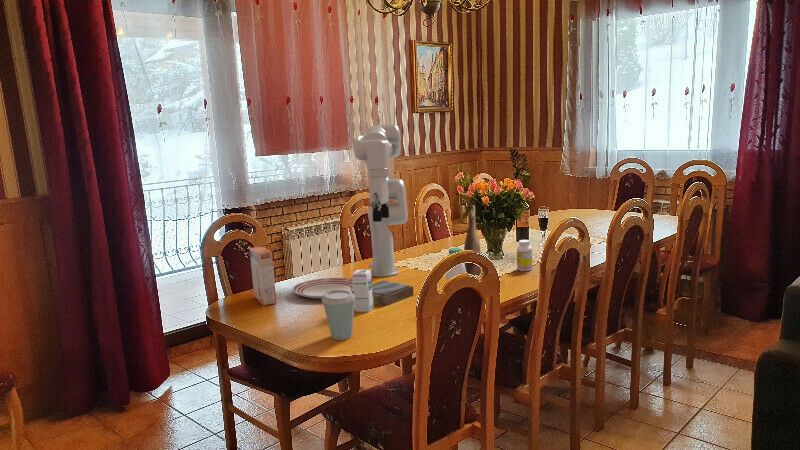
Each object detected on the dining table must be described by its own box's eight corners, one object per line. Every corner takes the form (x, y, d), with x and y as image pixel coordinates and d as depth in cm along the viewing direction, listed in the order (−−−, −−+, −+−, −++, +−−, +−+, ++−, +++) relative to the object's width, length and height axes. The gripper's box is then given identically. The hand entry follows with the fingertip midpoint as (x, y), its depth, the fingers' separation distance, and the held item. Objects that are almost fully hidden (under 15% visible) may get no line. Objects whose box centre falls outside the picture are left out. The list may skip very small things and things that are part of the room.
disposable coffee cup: (363, 332, 194) (360, 288, 192) (348, 344, 185) (344, 298, 182) (335, 329, 199) (332, 286, 196) (318, 341, 189) (314, 296, 186)
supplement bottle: (516, 267, 264) (515, 239, 262) (531, 267, 264) (530, 238, 262) (518, 271, 258) (517, 242, 255) (533, 271, 257) (533, 242, 255)
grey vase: (456, 283, 246) (453, 207, 239) (463, 275, 257) (460, 202, 250) (483, 285, 242) (480, 208, 235) (488, 276, 253) (486, 202, 246)
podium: (355, 299, 232) (355, 289, 231) (384, 289, 243) (383, 279, 242) (385, 306, 221) (384, 295, 220) (413, 295, 232) (413, 285, 232)
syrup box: (370, 312, 215) (367, 273, 212) (354, 311, 216) (351, 273, 214) (374, 307, 221) (371, 269, 218) (358, 306, 222) (356, 269, 219)
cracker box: (277, 303, 232) (272, 251, 228) (262, 306, 229) (257, 253, 225) (268, 295, 244) (263, 245, 240) (253, 297, 241) (248, 247, 238)
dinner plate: (339, 280, 262) (338, 272, 261) (373, 292, 240) (373, 284, 239) (281, 293, 246) (281, 285, 245) (313, 308, 224) (312, 299, 224)
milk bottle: (446, 304, 219) (443, 251, 215) (447, 298, 226) (445, 246, 223) (467, 304, 217) (465, 251, 214) (467, 297, 225) (465, 246, 221)
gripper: (375, 172, 229) (378, 216, 231) (361, 176, 212) (364, 223, 215) (394, 171, 227) (397, 216, 229) (381, 175, 211) (384, 222, 213)
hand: (381, 219), depth 222 cm, fingers open, 9 cm apart
